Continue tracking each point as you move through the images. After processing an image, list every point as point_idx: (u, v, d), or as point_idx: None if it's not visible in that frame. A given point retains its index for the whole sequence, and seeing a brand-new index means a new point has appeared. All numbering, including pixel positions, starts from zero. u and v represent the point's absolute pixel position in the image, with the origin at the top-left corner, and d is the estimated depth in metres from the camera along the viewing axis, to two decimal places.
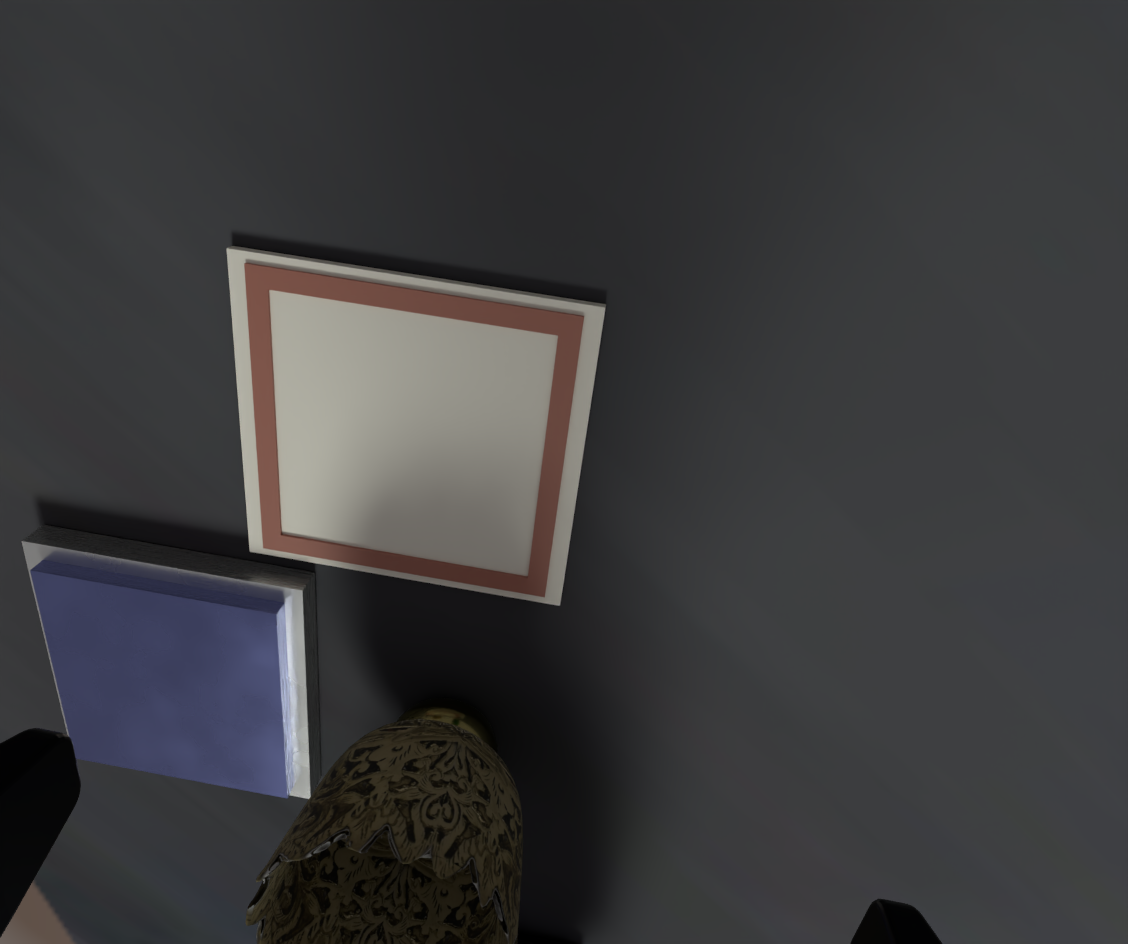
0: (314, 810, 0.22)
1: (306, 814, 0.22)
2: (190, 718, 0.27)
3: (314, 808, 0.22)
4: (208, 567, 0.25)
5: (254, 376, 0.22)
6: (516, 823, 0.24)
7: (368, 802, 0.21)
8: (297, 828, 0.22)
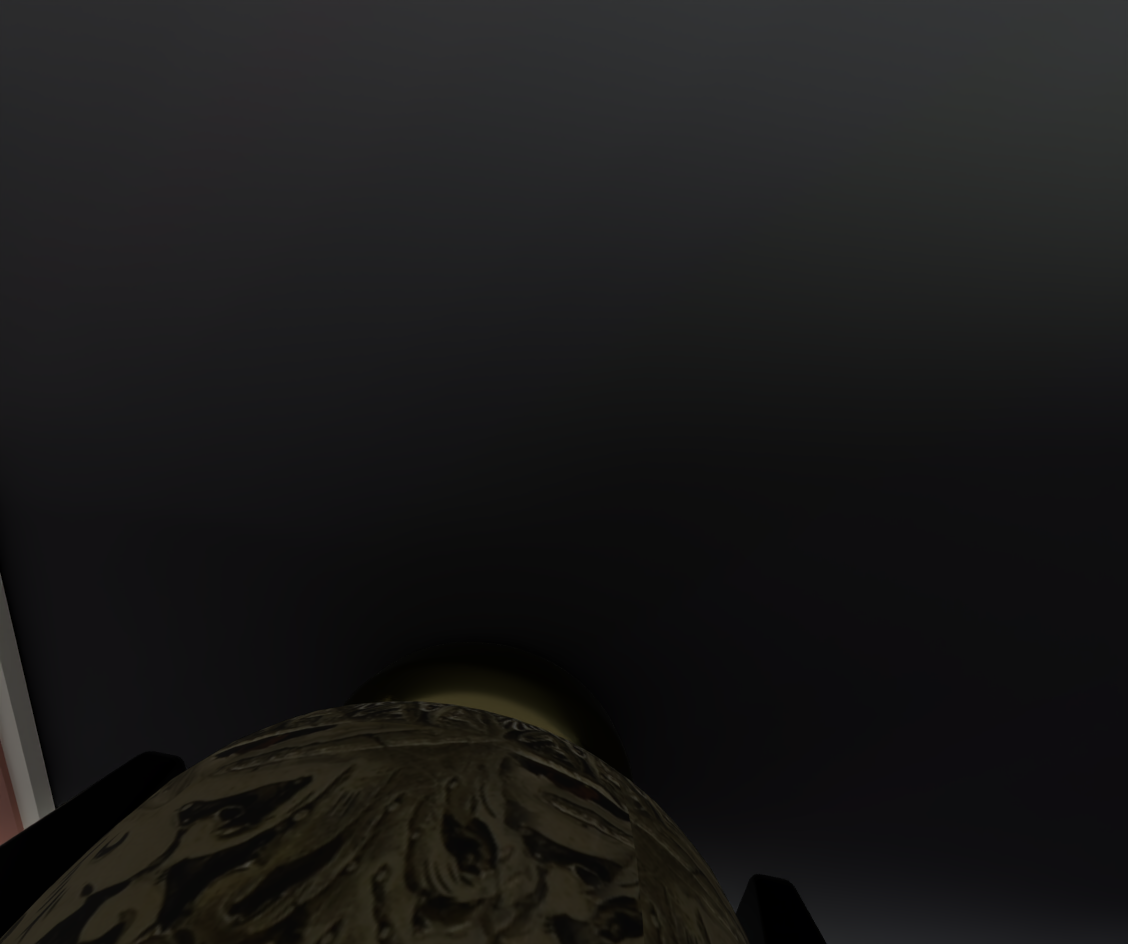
0: None
1: None
2: None
3: None
4: None
5: None
6: (178, 869, 0.05)
7: None
8: None
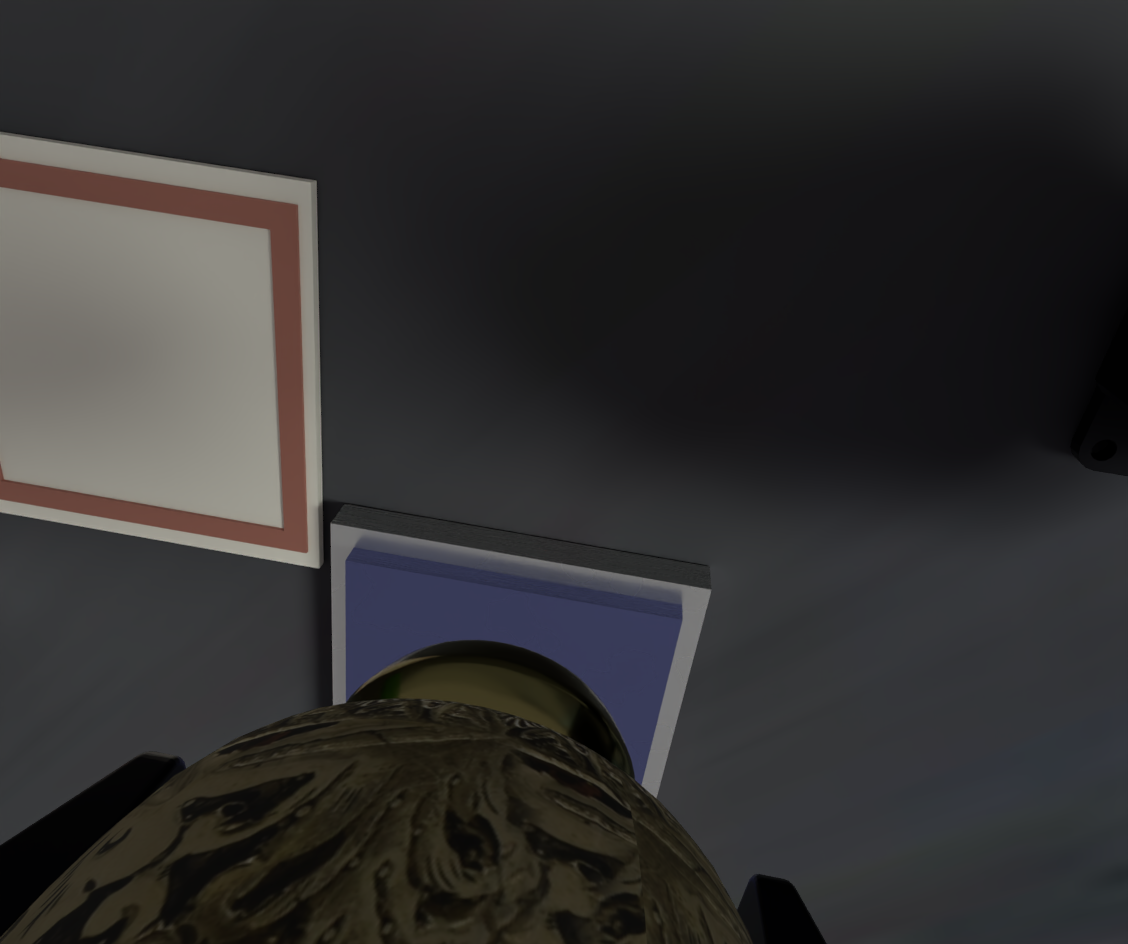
0: None
1: None
2: None
3: None
4: None
5: (96, 513, 0.22)
6: (180, 865, 0.05)
7: None
8: None
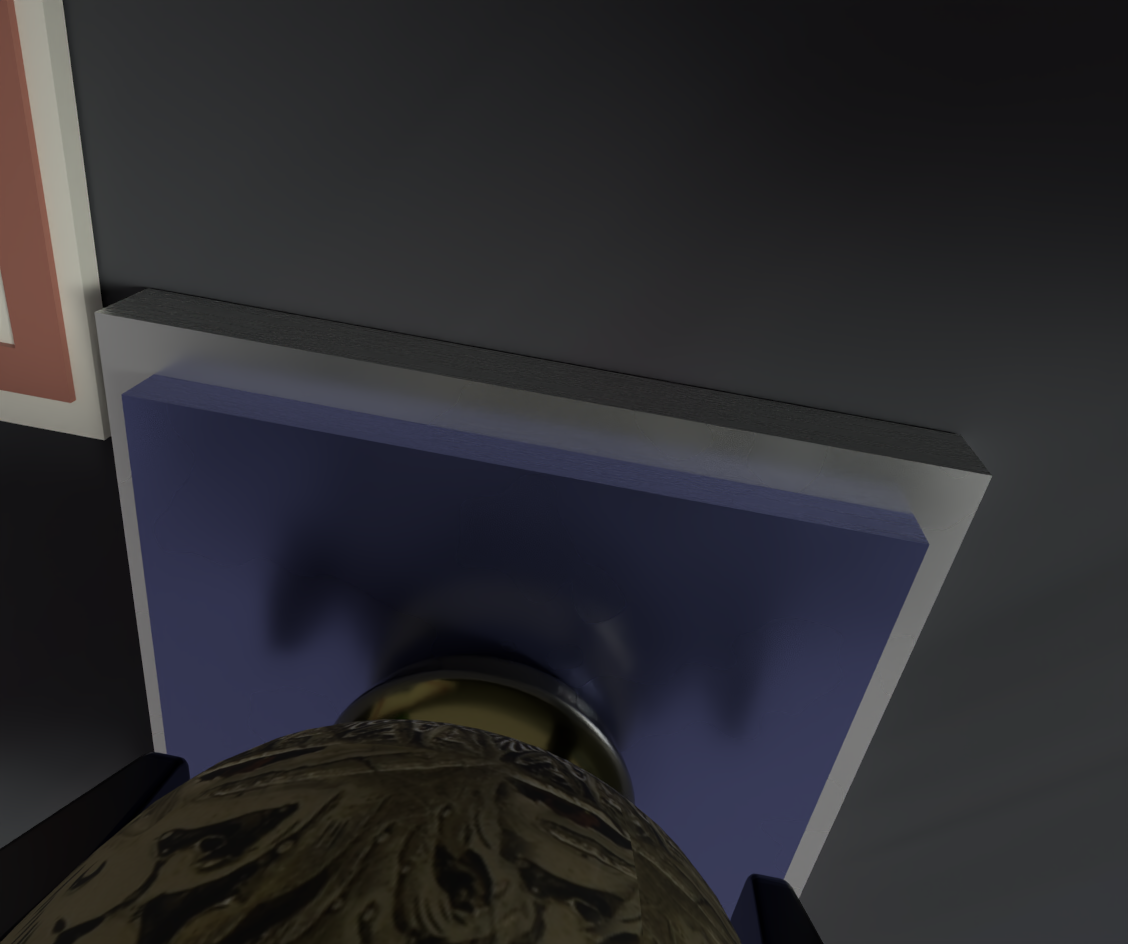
0: None
1: None
2: None
3: None
4: None
5: None
6: (154, 906, 0.05)
7: None
8: None
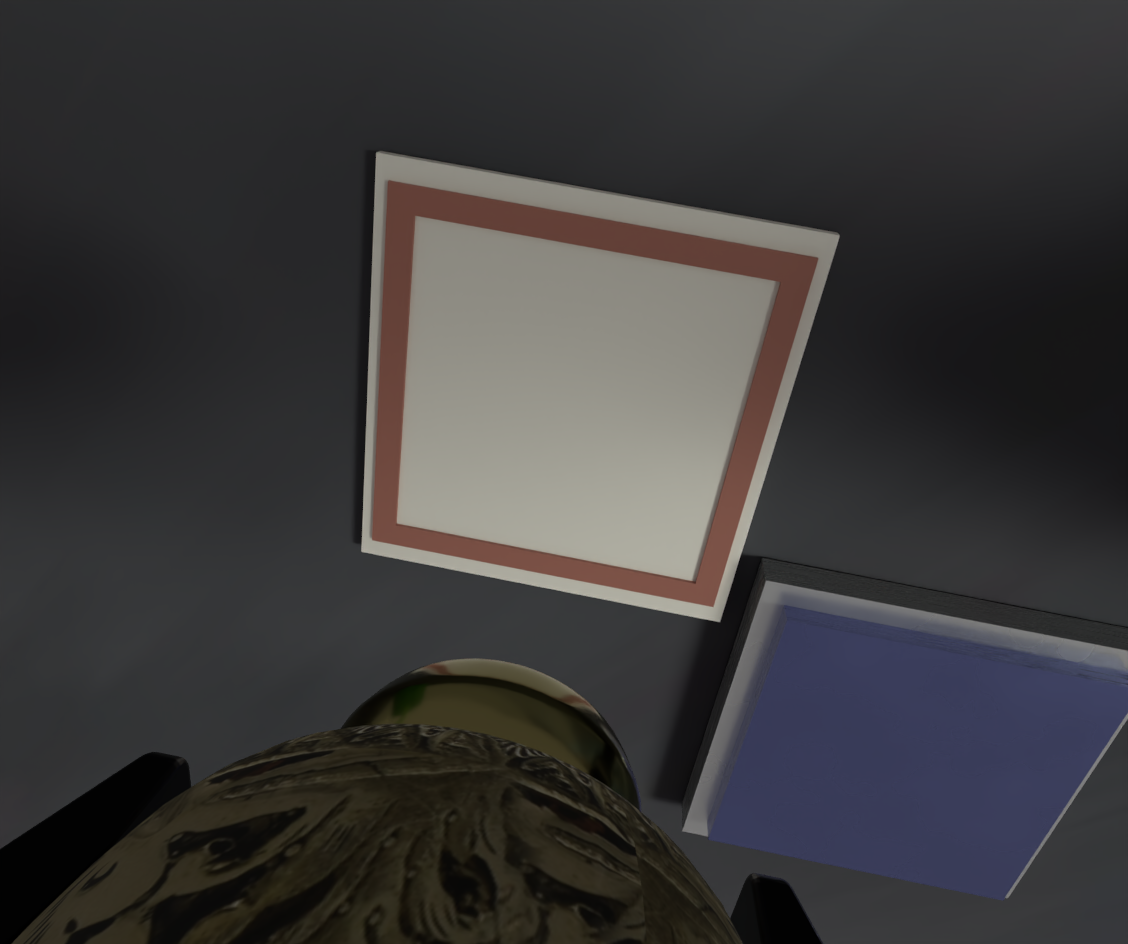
0: None
1: None
2: (955, 761, 0.20)
3: None
4: (732, 671, 0.21)
5: (491, 561, 0.21)
6: (164, 907, 0.05)
7: None
8: None
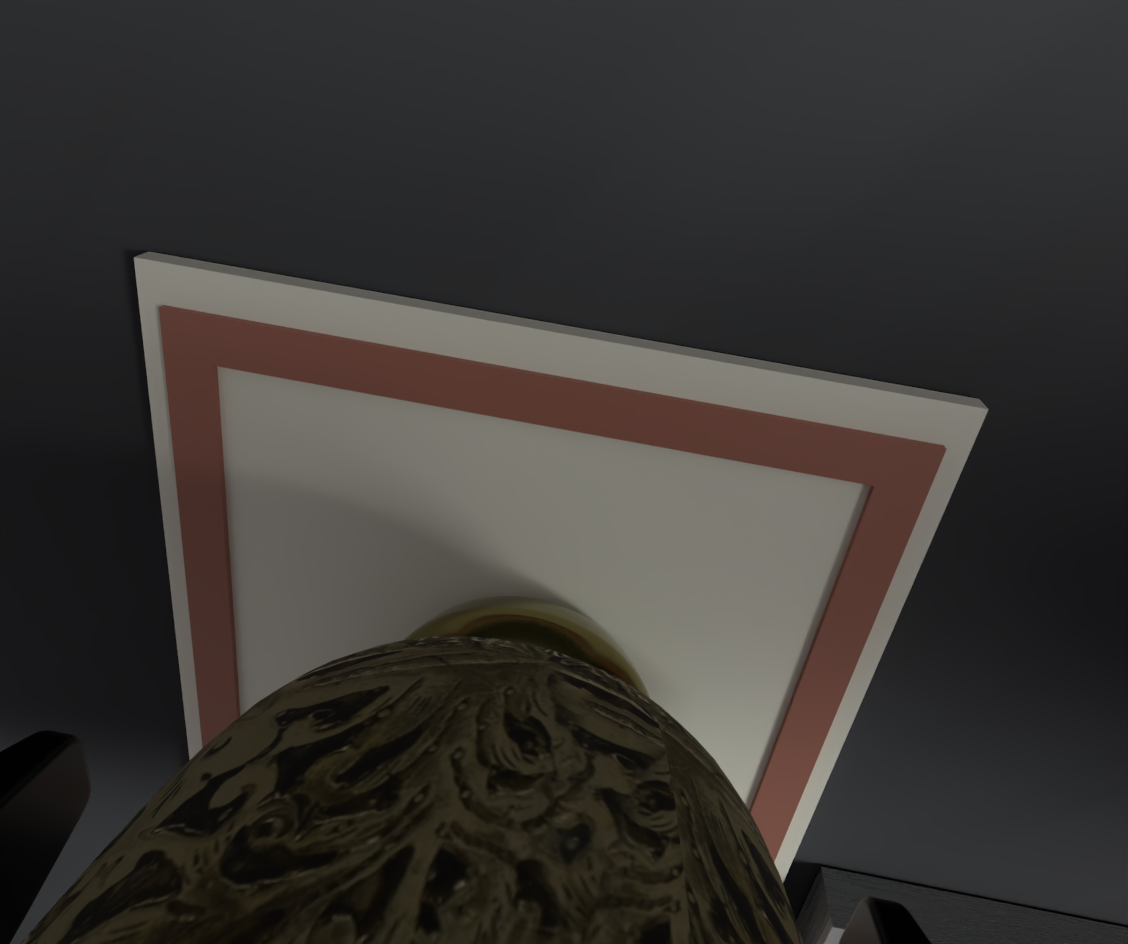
0: None
1: None
2: None
3: None
4: None
5: None
6: (285, 754, 0.06)
7: None
8: None
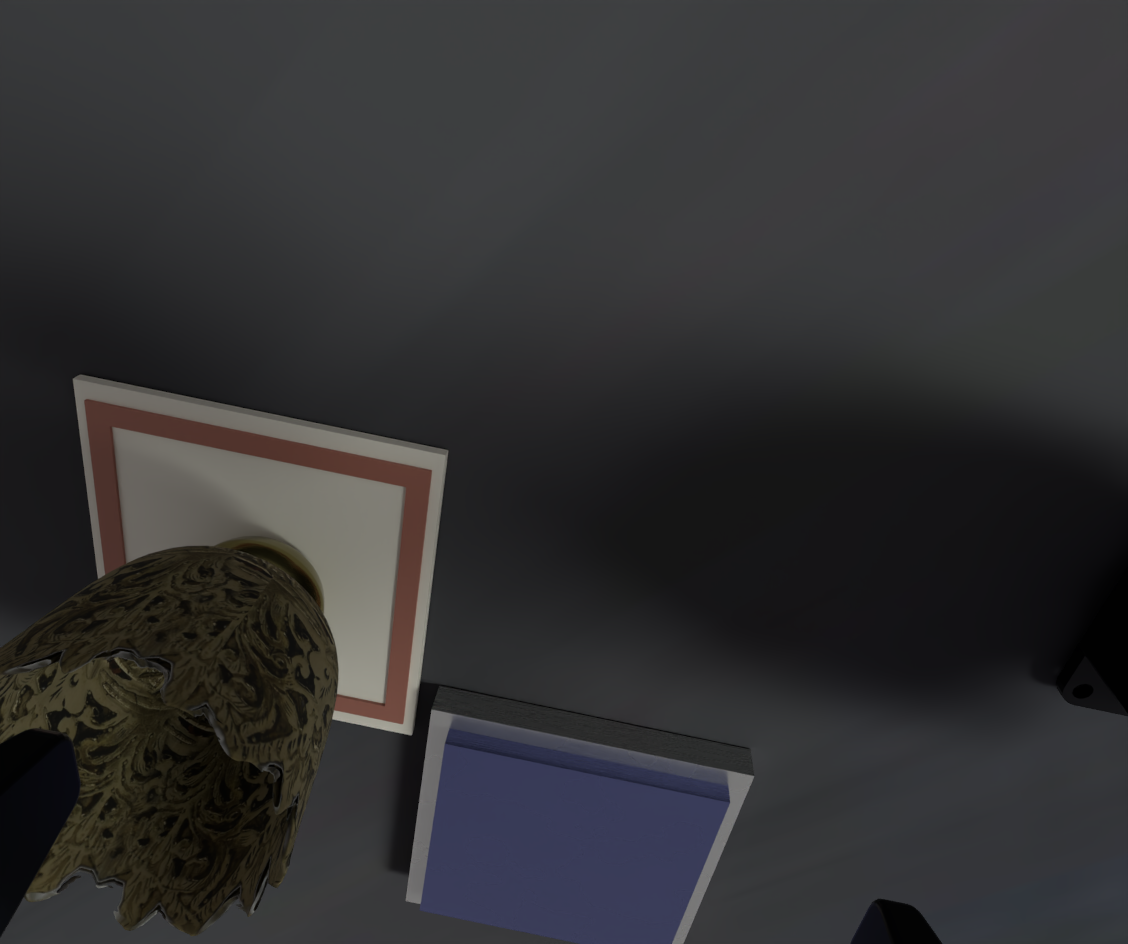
0: None
1: None
2: (600, 853, 0.25)
3: None
4: None
5: None
6: (118, 576, 0.17)
7: None
8: None
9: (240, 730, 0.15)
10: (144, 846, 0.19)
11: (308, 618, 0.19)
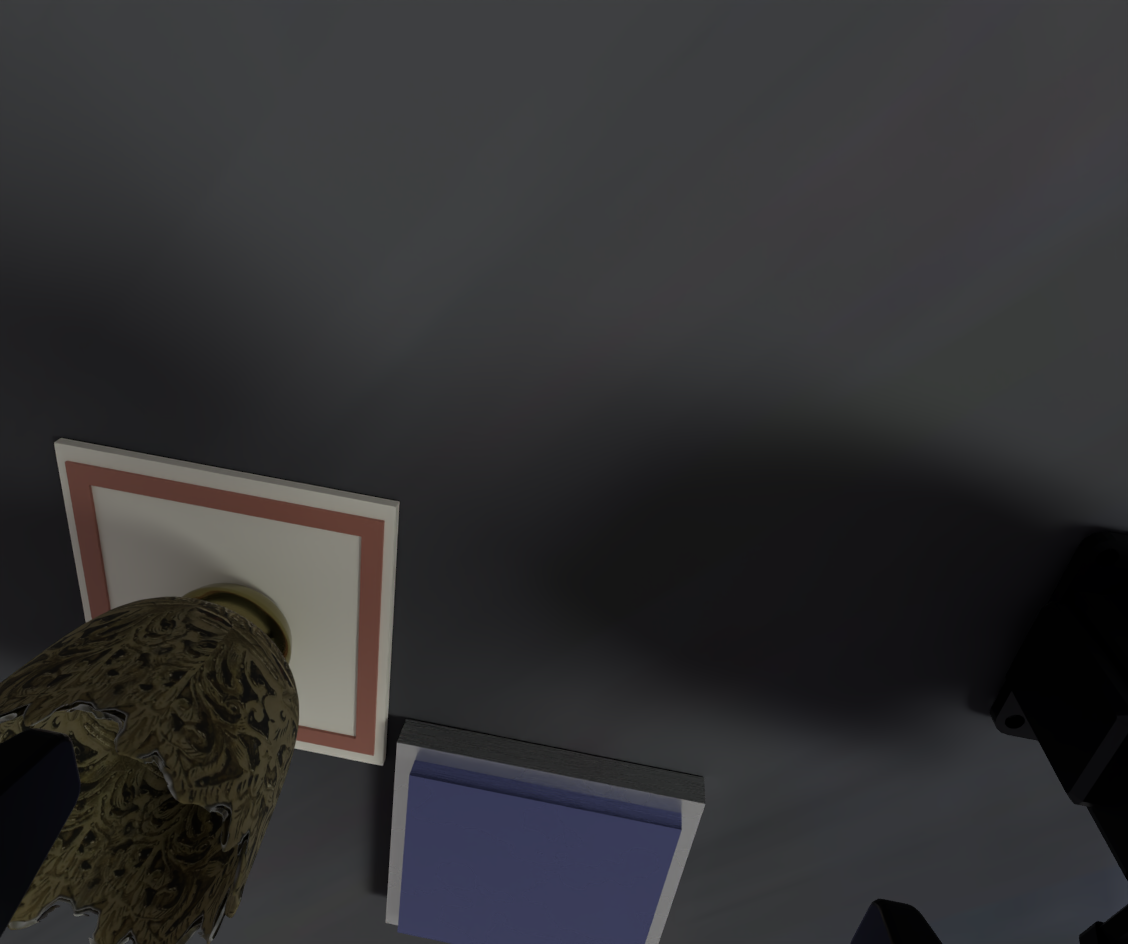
0: None
1: None
2: (563, 877, 0.26)
3: None
4: None
5: None
6: (87, 629, 0.19)
7: None
8: None
9: (189, 775, 0.16)
10: (119, 876, 0.20)
11: (265, 664, 0.20)
